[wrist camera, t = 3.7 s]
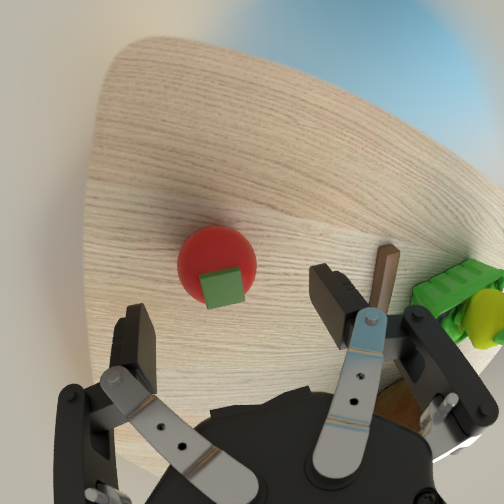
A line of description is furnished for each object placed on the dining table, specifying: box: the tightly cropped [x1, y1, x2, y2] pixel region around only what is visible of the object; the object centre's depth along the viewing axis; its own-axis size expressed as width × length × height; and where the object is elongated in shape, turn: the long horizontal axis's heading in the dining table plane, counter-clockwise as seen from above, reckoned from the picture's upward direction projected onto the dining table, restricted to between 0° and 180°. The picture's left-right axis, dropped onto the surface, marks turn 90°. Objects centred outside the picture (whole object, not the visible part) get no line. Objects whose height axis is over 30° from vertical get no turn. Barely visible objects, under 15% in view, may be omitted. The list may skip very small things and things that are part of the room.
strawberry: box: [177, 226, 257, 309], centre depth 17 cm, size 4×4×4 cm
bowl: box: [373, 379, 423, 435], centre depth 34 cm, size 22×23×10 cm
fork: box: [369, 244, 400, 315], centre depth 27 cm, size 20×4×1 cm, turn 6°
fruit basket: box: [410, 258, 504, 349], centre depth 22 cm, size 11×9×11 cm
